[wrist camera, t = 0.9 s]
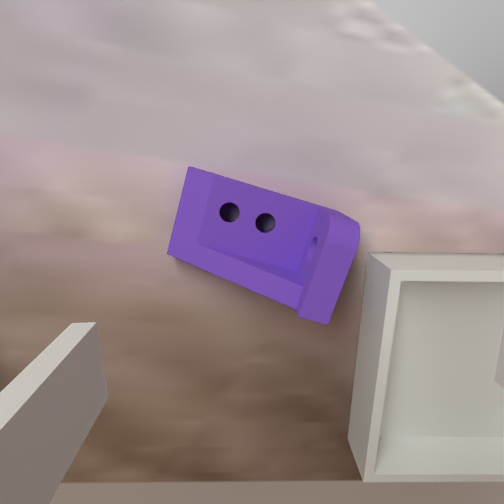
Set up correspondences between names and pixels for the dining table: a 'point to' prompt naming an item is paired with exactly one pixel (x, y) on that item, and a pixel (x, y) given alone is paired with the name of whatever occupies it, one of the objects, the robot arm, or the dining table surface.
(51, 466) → the robot arm
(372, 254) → the bin
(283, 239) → the bracket
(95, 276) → the dining table surface
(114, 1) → the dining table surface
